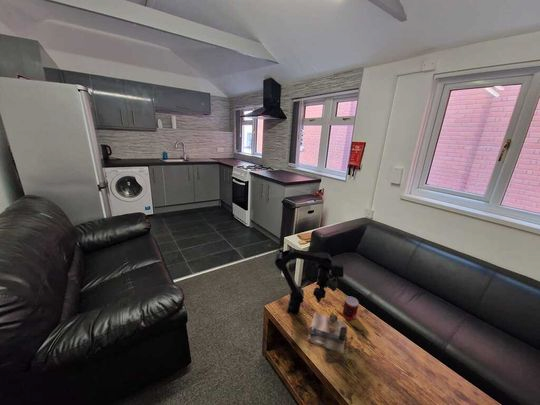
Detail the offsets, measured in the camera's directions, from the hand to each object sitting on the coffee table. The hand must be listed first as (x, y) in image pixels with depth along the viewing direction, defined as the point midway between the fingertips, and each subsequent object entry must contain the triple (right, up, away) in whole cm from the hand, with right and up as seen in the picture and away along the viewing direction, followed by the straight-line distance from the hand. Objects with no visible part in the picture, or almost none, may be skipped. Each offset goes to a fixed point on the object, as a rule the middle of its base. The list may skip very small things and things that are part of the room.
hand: (319, 297), depth 128 cm
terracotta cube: (+4, -14, -10) cm, 17 cm away
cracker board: (+2, -15, -9) cm, 18 cm away
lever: (0, -15, -14) cm, 20 cm away
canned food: (+18, -13, +3) cm, 22 cm away
